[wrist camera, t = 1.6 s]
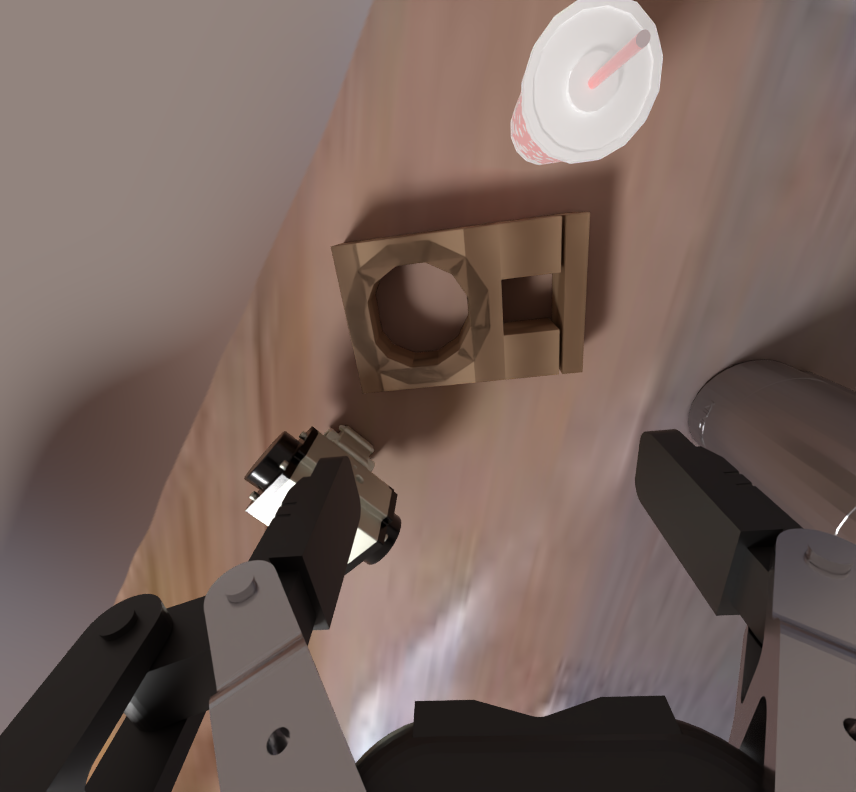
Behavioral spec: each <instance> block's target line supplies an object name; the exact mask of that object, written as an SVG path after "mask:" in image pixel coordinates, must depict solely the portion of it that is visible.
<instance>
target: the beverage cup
mask: <svg viewBox="0 0 856 792" xmlns="http://www.w3.org/2000/svg"><path fill="white" fill-rule="evenodd" d="M662 62H663V54H662V49H661V45H660V41H659V37H658V33H657V29H656V25H655V24H654V22H653V21H652V20H651V19H650V17H649V16H648V15H647V14H646V12H645V11H644V10H643V9H642V7H641V6H640V5H639V4H638V2H635V1H633V0H577V1H576V2H574V3H573V4H571V5H570V6H568V7H567V8H566V9H564V10H563V11H561V12H560V13H558V14H557V15H556V16H554V18H553V19H552V20H551V22H550V23H549V25H548V26H547V28H546V29H545V30H544V32H543V33H542V35H541V36H540V38H539V39H538V40H537V42H536V43H535V45H534V47H533V49H532V52H531V55H530V58H529V61H528V64H527V68H526V71H525V74H524V77H523V80H522V91H521V94H520V96H519V99H518V101H517V104H516V106H515V110H514V113H513V116H512V119H511V139H512V141H513V144H514V146H515V149H516V151H517V152H518V153H519V154H520V155H521V156H522V157H523V158H524V159H525V160H526V161H528V162H531V163H534V164H537V165H541V164H549V163H555V162H560V161H564V162H567V163H570V164H573V163H580V162H587V161H595V160H599V159H602V158H603V157H605V156H607V155H608V154H610V153H612V152H614V151H615V150H617V149H619V148H620V147H622V146H624V145H625V144H626V143H627V142H628V141H629V140H630V138H631V137H632V136H633V135H634V134H635V133H636V132H637V130H638V129H639V128H640V127H641V126H642V125H643V123H644V122H645V121H646V119H647V117H648V115H649V112H650V110H651V108H652V105H653V103H654V101H655V99H656V96H657V94H658V92H659V89H660V80H661V71H662Z"/></svg>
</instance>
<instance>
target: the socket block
mask: <svg viewBox="0 0 856 792" xmlns="http://www.w3.org/2000/svg"><path fill="white" fill-rule="evenodd" d="M589 224H590V212H569V213H562V214H554V215H547V216H540V217H532V218H525V219H517V220H510V221H503V222H495V223H488V224H480V225H473V226H466V227H458V228H451V229H443V230H436V231H429V232H421V233H414V234H406V235H399V236H392V237H384V238H377V239H369V240H362V241H355V242H347V243H342V244H338V245H335V246H332V247H331V250H332V255H333V259H334V264H335V269H336V273H337V278H338V282H339V287H340V292H341V296H342V301H343V305H344V310H345V314H346V319H347V324H348V328H349V333H350V337H351V342H352V346H353V351H354V356H355V360H356V365H357V369H358V374H359V379H360V383H361V388H362V392H363V393H373V392H383V391H394V390H404V389H414V388H424V387H434V386H445V385H455V384H465V383H475V382H486V381H496V380H506V379H516V378H527V377H537V376H547V375H557V374H559V369H560V371H561V372H562V374H567V373H578V372H582V369H583V349H584V328H585V307H586V286H587V266H588V245H589ZM423 262H426V263H428V264H430V265H432V266H435V267H437V268H439V269H441V270H444V271H446V272H448V273H450V274H452V275H453V276H454V278H455V279H456V281H457V282H458V283H459V285H460V286H461V288H462V289H463V291H464V292H465V293H466V295H467V302H468V316H467V319H466V321H465V323H464V325H463V327H462V329H461V331H460V333H459V335H458V337H457V338H455V339H454V340H452V341H451V342H449V343H448V344H447V345H445V346H444V347H442V348H441V349H440V350H436V351H426V352H417V353H415V352H412V351H410V350H407V349H405V348H402V347H400V346H398V345H395V344H393V343H392V342H391V341H390V339H389V338H388V337H387V336H386V335H385V333H384V332H383V331H382V327H381V321H380V316H379V310H378V305H377V299H376V294H375V293H376V290H377V288H378V285H379V282H380V279H381V278H382V277H383V276H384V275H386V274H387V273H388V272H389V271H390V270H392V269H393V268H394V267H395V266H400V265H408V264H415V263H423ZM551 273H552V321H551V320H550V319H549V318H540V319H531V320H522V321H513V322H504V323H503V311H502V288H501V280H502V279H510V278H518V277H526V276H535V275H543V274H551Z"/></svg>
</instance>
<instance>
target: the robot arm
mask: <svg viewBox="0 0 856 792" xmlns="http://www.w3.org/2000/svg"><path fill="white" fill-rule="evenodd" d="M688 425H689V430H690V433H691V435H692V437H693V439H694V440H695V441H696V442H697V443H698V444H699V445H700V447H696V446H695V445H694V444H692V443H691V442H690V441H689V440H688V439H687V438H686V437H685V436H684V435H683V434H682V433H681V432H680V431H678V430H676V429H671V430H659V431H647V432H644V433H643V434H642V435H641V438H640V444H639V452H638V460H637V468H636V476H635V486H636V492H637V495H638V498H639V500H640V502H641V504H642V505H643V507H644V508H645V510H646V511H647V513H648V514H649V516H650V517H651V519H652V520H653V522H654V523H655V525H656V526H657V528H658V529H659V531H660V532H661V534H662V535H663V537H664V538H665V540H666V541H667V543H668V544H669V546H670V547H671V549H672V550H673V552H674V553H675V555H676V556H677V558H678V559H679V561H680V562H681V564H682V565H683V567H684V568H685V570H686V571H687V573H688V574H689V576H690V577H691V578H692V580H693V581H694V583H695V584H696V586H697V587H698V589H699V590H700V592H701V593H702V595H703V596H704V598H705V599H706V601H707V602H708V604H709V605H710V607H711V608H712V610H713V611H714V613H715V614H716V616H718V615H741V617H742V618H743V620H744V621H745V622H746V624H747V626H746V629H745V632H744V636H743V645H742V654H741V663H740V672H739V680H738V689H737V698H736V707H735V715H734V721H733V726H732V730H731V734H730V738H729V742H726V741H725V740H723V739H721V738H719V737H717V736H715V735H713V734H711V733H709V732H707V731H705V730H703V729H701V728H699V727H696V726H694V725H691V724H689V723H686V722H683V721H680V720H676V719H675V717H674V715H673V713H672V711H671V708H670V706H669V704H668V702H667V699H666V697H665V696H628V697H600V698H597V699H594V700H591V701H588V702H585V703H582V704H580V705H577V706H574V707H571V708H568V709H565V710H562V711H559V712H557V713H554V714H551V715H548V716H545V717H534V716H530V715H526V714H522V713H519V712H515V711H512V710H508V709H505V708H501V707H497V706H494V705H490V704H487V703H483V702H479V701H476V700H447V701H415V709H414V722H413V723H410V724H407V725H405V726H403V727H401V728H399V729H397V730H395V731H393V732H391V733H390V734H388V735H387V736H385V737H384V738H382V739H381V740H380V741H378V742H377V743H376V744H375V745H373V746H372V747H371V748H370V749H369V750H368V751H367V752H366V753H364V755H363V756H362V757H361V758H360V759H359V760H358V761H357V762H356V763H355V761H354V758H353V756H352V754H351V751H350V749H349V746H348V744H347V741H346V739H345V737H344V734H343V732H342V729H341V727H340V724H339V722H338V720H337V717H336V715H335V712H334V710H333V707H332V705H331V702H330V700H329V698H328V695H327V693H326V690H325V688H324V685H323V683H322V681H321V678H320V676H319V673H318V671H317V668H316V666H315V663H314V661H313V659H312V656H311V654H310V651H309V649H308V643H309V640H310V637H311V633H312V630H327V629H329V628H330V625H331V621H332V618H333V614H334V611H335V607H336V603H337V600H338V596H339V593H340V589H341V586H342V582H343V578H344V575H345V571H346V568H347V564H348V561H349V557H350V554H351V550H352V546H353V543H354V539H355V536H356V532H357V529H358V525H359V521H360V516H361V503H360V497H359V493H358V489H357V485H356V481H355V477H354V474H353V470H352V466H351V462H350V459H349V458H348V456H337V457H325V458H320V459H319V461H318V462H317V464H316V466H315V468H314V470H313V472H312V474H311V476H308V477H302V478H301V479H300V480H299V481H298V482H297V483H296V484H295V485H293V486H292V487H291V488H290V489H289V490H288V492H287V494H286V496H285V497H284V499H283V501H282V503H281V506H279V508H278V510H277V512H276V513H275V518H273V519H272V520H271V522H270V524H269V526H268V527H267V529H266V531H265V533H264V535H263V536H262V538H261V540H260V542H259V543H258V545H257V547H256V549H255V550H254V552H253V554H252V556H251V557H250V559H249V561H248V562H245V563H242V564H240V565H238V566H235V567H234V568H232V569H230V570H229V571H227V572H226V573H224V574H223V575H222V576H221V577H220V578H218V579H217V581H216V582H215V583H214V584H213V585H212V586H211V588H210V589H209V591H208V593H207V595H206V596H203V597H200V598H197V599H194V600H191V601H188V602H185V603H182V604H179V605H176V606H173V607H170V608H167V609H166V608H165V606H164V604H163V603H162V601H161V600H160V598H159V597H158V596H156V595H153V594H142V595H137V596H134V597H131V598H128V599H126V600H124V601H122V602H120V603H118V604H116V605H114V606H113V607H111V608H110V609H108V610H107V611H105V612H104V613H103V614H101V615H100V616H99V617H98V618H97V619H96V620H95V621H94V622H92V623H91V624H90V626H89V627H88V628H87V629H86V630H85V631H84V633H83V634H82V635H81V636H80V638H79V639H78V640H77V641H76V643H75V644H74V645H73V646H72V647H71V649H70V650H69V651H68V652H67V654H66V655H65V656H64V657H63V659H62V660H61V661H60V662H59V664H58V665H57V666H56V667H55V668H54V670H53V671H52V672H51V673H50V675H49V676H48V677H47V678H46V680H45V681H44V682H43V683H42V685H41V686H40V687H39V688H38V690H37V691H36V692H35V693H34V695H33V696H32V697H31V698H30V699H29V701H28V702H27V703H26V704H25V706H24V707H23V708H22V709H21V711H20V712H19V713H18V714H17V715H16V717H15V718H14V719H13V721H12V722H11V723H10V724H9V725H8V727H7V728H6V729H5V730H4V732H3V733H2V734H1V735H0V792H171V791H172V789H173V786H174V784H175V782H176V780H177V777H178V775H179V773H180V770H181V768H182V766H183V763H184V761H185V759H186V756H187V754H188V752H189V749H190V747H191V745H192V743H193V740H194V738H195V736H196V733H197V731H198V729H199V726H200V724H201V722H202V719H203V717H204V715H205V713H206V711H207V710H209V712H210V720H211V727H212V734H213V742H214V749H215V756H216V763H217V771H218V778H219V785H220V792H856V392H855V391H853V390H851V389H848V388H846V387H844V386H841V385H839V384H837V383H835V382H832V381H830V380H828V379H825V378H823V377H821V376H819V375H816V374H814V373H812V372H802V371H800V370H797V369H795V368H793V367H791V366H788V365H786V364H783V363H780V362H777V361H772V360H754V361H748V362H745V363H741V364H738V365H735V366H733V367H731V368H728V369H726V370H725V371H723V372H721V373H720V374H718V375H717V376H715V377H714V378H713V379H712V380H710V381H709V382H708V383H707V384H706V385H705V386H704V387H703V388H702V389H701V391H700V392H699V393H698V394H697V396H696V398H695V400H694V401H693V403H692V405H691V409H690V412H689V418H688ZM123 713H125V714H126V718H125V720H124V721H123V723H122V725H121V726H120V728H119V730H118V732H117V733H116V735H115V737H114V738H113V740H112V742H111V743H110V745H109V747H108V749H107V750H106V752H105V754H104V755H103V757H102V759H101V761H100V762H99V764H98V766H97V767H96V769H95V771H94V772H93V774H92V776H91V778H90V779H89V781H88V783H87V784H86V781H87V777H88V774H89V772H90V769H91V767H92V765H93V763H94V761H95V759H96V758H97V756H98V754H99V753H100V751H101V749H102V748H103V746H104V744H105V743H106V741H107V739H108V738H109V736H110V734H111V733H112V731H113V729H114V728H115V726H116V724H117V723H118V721H119V719H120V718H121V716H122V714H123Z"/></svg>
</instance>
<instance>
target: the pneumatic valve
mask: <svg viewBox="0 0 856 792" xmlns="http://www.w3.org/2000/svg"><path fill="white" fill-rule="evenodd" d="M339 430H340V431H341V432H340V433H339V434H338V433H337V432H336V431H334V430H333V429H332V428H330V429H329V430H327V431H326V432H325V433H324V435H323V434H321V433H320V432H319V431H318V430H316V429H315V428H314V427H311V428H310V429H309V430H308V431H307V432H306V433H305V432H304V431H303V432H302V433H301V434H300V435H299V438H300V439H299V440H297V439H295V438H294V437H293V436H291V435H290V434H289V433H287V432H286V431H284V432H283V433H282V434H280V435H279V436H278V437H277V439H276V440H275V441H274V442H273V443H272V444H271V445H270V446H269V447H268V448H267V450H266V451H265V452H264V453H263V454H262V455H261V457H260V458H259V459H258V460H257V461H256V463H255V464H254V465H253V466H252V468H251V469H250V470H249V472H248V473H247V474H246V476H245V478H244V479H245V480H246V481H248V482H249V483H251V484H252V485H254V486H255V487H256V488H258V489H259V491H258V492H255V491H253V492H252V493H251V495H250V496H249V498H250V499H252V501H251V503H250V504H249V506H248V507H247V509H246V510H245V511H246V512H248V513H249V514H251V515H252V516H254V517H255V518H257V519H258V520H260V521H261V522H263V523H264V524H266V525H267V526H269V524H270V522H271V520H272V519H273V518H275V513H276V512H277V510H278V508H279V506H281V503H282V501H283V499H284V497H285V496H286V494H287V492H288V490H289V489H290V488H291V487H292V486H293V485H295V484H296V483H297V482H298V481H299V480H300V479H301V478H302V477H308V476H311V474H312V472H313V470H314V468H315V466H316V464H317V462H318V461H319V459H320V458H325V457H337V456H348V458H349V459H350V462H351V466H352V470H353V474H354V477H355V481H356V485H357V489H358V493H359V497H360V503H361V516H360V521H359V525H358V529H357V532H356V536H355V539H354V543H353V546H352V550H351V554H350V557H349V561H348V564H347V568H346V571H345V575H346V574H347V573H348V572H350V571H351V570H352V569H354V568H355V567H356V566H357V565H359V564H360V563H361V562H363V561H364V562H365V563H367V564H369V565H371V564H375V563H377V562H378V561H380V560H381V559H382V558H383V557H384V556H385V555H386V554H387V553H388V552H389V550H390V549H391V548H392V546H393V545H394V543H395V541H396V539H397V537H398V535H399V532H400V528H401V519H400V517H399V516H397V515H396V514H395V513H394V511H395V506H396V500H397V494H396V493H395V492H394V489H392V488H391V487H390V486H388V485H387V484H386V483H385V482H383V481H382V480H381V479H379V478H378V477H377V476H376V475H374V474H373V473H372V472H371V471H372V470H373V468H374V466H375V463H374V461H372V460H371V459H370V458H369V455H370V454H372V453H373V451H374V449H373V445H371V444H370V443H369V442H368V441H367V440H365V439H364V438H363V437H362V436H360V435H359V434H358V433H357V432H355V431H354V430H353V429H352V428H350V427H349V426H348V425H347V426H344V425H340V426H339Z"/></svg>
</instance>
